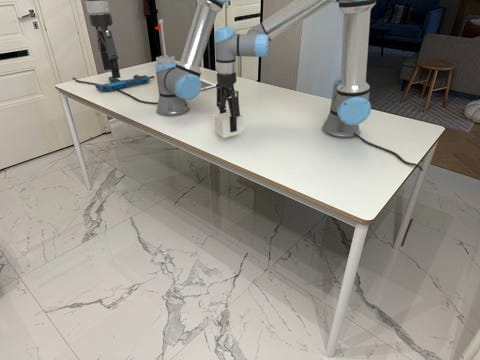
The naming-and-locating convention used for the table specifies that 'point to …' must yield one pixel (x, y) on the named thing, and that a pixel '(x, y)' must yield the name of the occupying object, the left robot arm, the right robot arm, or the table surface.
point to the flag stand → (166, 58)
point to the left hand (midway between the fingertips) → (112, 73)
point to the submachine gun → (122, 82)
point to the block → (227, 125)
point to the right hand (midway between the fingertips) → (228, 127)
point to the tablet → (206, 84)
